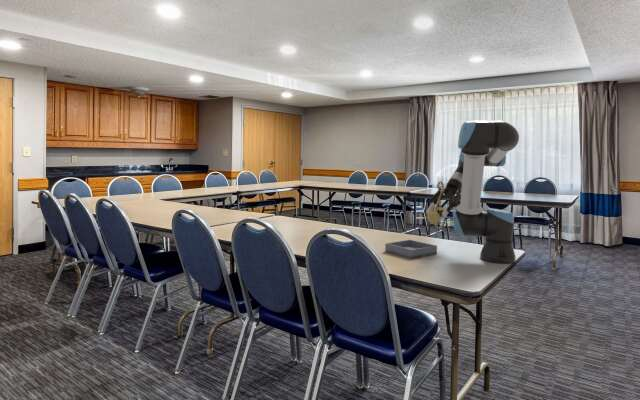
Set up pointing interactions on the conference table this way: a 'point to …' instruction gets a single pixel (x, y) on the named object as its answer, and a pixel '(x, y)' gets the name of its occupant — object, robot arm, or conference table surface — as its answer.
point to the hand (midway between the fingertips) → (435, 214)
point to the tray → (411, 248)
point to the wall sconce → (433, 215)
